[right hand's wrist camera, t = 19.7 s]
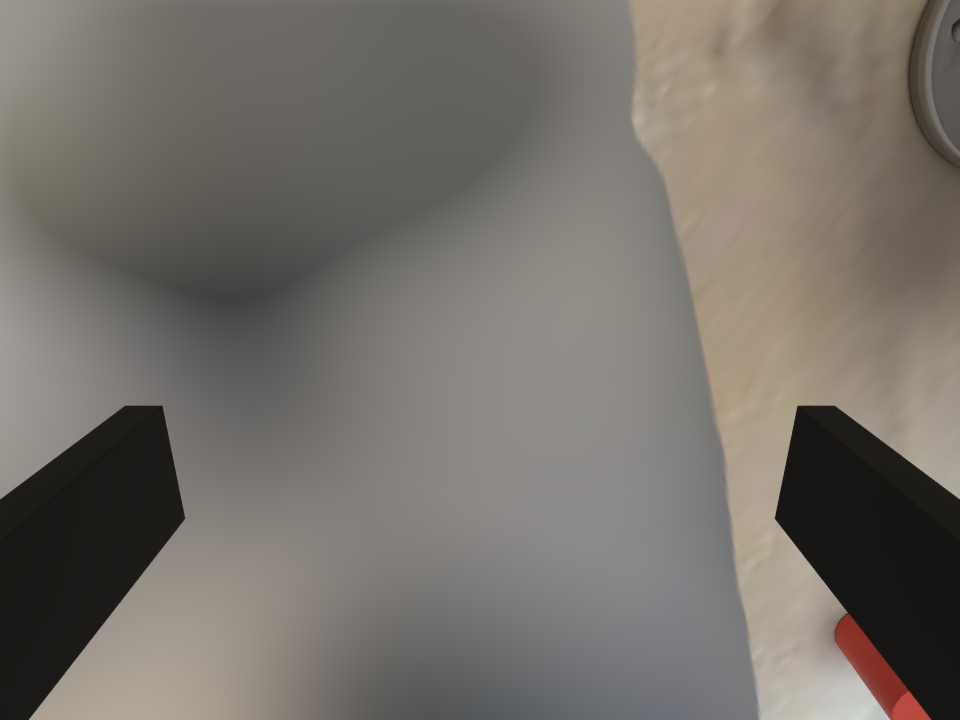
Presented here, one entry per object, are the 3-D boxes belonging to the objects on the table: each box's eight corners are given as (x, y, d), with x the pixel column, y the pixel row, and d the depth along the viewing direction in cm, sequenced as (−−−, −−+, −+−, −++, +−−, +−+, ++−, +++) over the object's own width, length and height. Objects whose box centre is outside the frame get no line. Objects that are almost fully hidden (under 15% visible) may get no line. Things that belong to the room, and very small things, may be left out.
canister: (821, 640, 53) (876, 721, 45) (863, 595, 51) (928, 672, 44) (870, 663, 54) (932, 746, 46) (914, 619, 52) (985, 698, 45)
